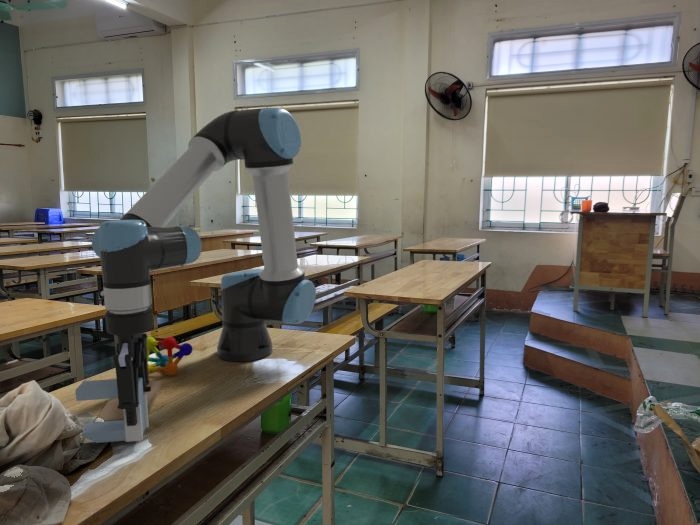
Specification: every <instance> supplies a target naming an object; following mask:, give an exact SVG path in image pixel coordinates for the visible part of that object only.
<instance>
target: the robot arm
mask: <svg viewBox="0 0 700 525" xmlns="http://www.w3.org/2000/svg"><path fill="white" fill-rule="evenodd" d="M301 136H302V135H301V132H300V128H299V125H298V123H297V121H296V119H295V117H293V116H292V114H291V113H290V112H289V111H288V110H286V109H284V108H282V107H269V106H268V107H267V106H265V107H264V108H263V107H261V108H252V109H241V110H231V111H228V112H224V113H222V114H220V115H218V116H216V117H215V118H214V119H212V120H211V121H210V122H208V123H207V124H206V125H204V127H203V126H202V128H201V129H200V130H199V131H198V132H197V133H195V134H194V135H193V137H192V138H191V139H189V141H188V143H187V149H186V150H185V151H184V153H183V154H182V155H180V156H179V158H177V160H176V161H175V162H174V163H173V164H172V165H171V166H170V167H169V168H168V169H167V170H166V171H165V172H164V173H163V175H162V176H160V178H159V179H158V180H156V182H155V183H154V184H152V186H151V187H149V189H148V190H147V191H146V192H145V193H144V194H143V195H142V196H141V197H140V199H138V200H137V201H136V203H134V205H132V207H131V208H130V209H129V210H128V211H127V212H125V214H124V215H123V216H122V217H121V218H120V219H114V220H112V219H111V220H106V221H103V222H102V223H101V224H100V225H99V227H98V228H97V229H96V230H94V233H93V235H92V237H91V247H92V251H93V252H94V254H95V255H96V256H97V257H98V258H99V259H100V265H101V266H100V268H101V277H102V287H103V290H101V292H100V296H101V297H104V308H105V310H107V311H106V313H104V316H105V317H104V318H105V328H106V332H107V333H108V334H110V335H113V336H117V337H118V342H117V344H116V354H115V355H114V356H113V358H112V360H113V362H114V366H115V374H116V378H115V379H117V389H118V401H119V405H118V409H123V410H124V423H125V436H126V440H125V443H130V442H139V441H141V442H142V441H143V439H144V433H143V430H142V416H141V404H139V394H138V378H141V377H142V379H143V396H144V411H145V427H146V429H149V427H150V424H149V421H150V420H149V414H148V407H147V393H144V392H150V391H151V387H147V385H148V384H149V381H150V380H149V374H148V364H149V361H147V337H148V334H147V333H146V332H149V331H150V330H151V329H152V328H153V327H154V321H153V309H152V308H151V307H150V306H151V305H152V303H153V301H152V288H151V287H152V285H151V272H153V271H156V270H164V269H169V268H175V267H183V266H185V265H188V264H192V263H194V262H196V261H197V260H198V259H199V257H200V256H201V254H202V245H203V244H202V241H201V240H202V239H201V237H200V235H199V233H198V232H197V231H196V229H193V228H192V227H189V226H178V225H176V226H173V227H172V226H171V227H170V226H169V227H166V226H167V225H168V224H169V222H170V221H171V220H172V219H173V218H174V217H175V216H176V214H178V212H179V211H180V210H181V209H182V208H183V207H184V205H185V204H186V203H187V202H188V201H189V200H190V199H191V198H192V196H193V195H194V194H195V193H196V192H197V190H199V189H200V187H201V186H202V185H203V184H204V183H205V181H206V180H207V179H208V178H209V177H210V176H211V175H212V173H213V172H218V171H220V170H222V169H223V168H224V166H225V165H227V164H228V163H230V162H232V161H237V160H241V161H242V160H243V161H244V167H245V170H246V171H248V172H249V173H250V174H251V175H252V180H253V188H254V196H255V205H256V213H257V219H258V220H257V221H258V229H259V235H260V236H259V237H260V245H261V252H262V259H263V267H264V268H263V269H259V268H257V269H247V270H240V271H239V270H238V271H234V272H230V273H225V274H224V275H223V276H222V277H221V281H220V299H221V301H220V302H221V303H220V304H221V317H222V329H221V332H220V336H219V339H218V343H217V346H216V353H217V354H216V355H217V357H218V358H220V359H221V360H224V361H229V362H250V361H251V362H252V361H256V360H260V359H264V358H266V357H269V356H270V355H271V354H272V353H273V341H272V338H271V336H270V333H269V331H268V328H267V324H266V321H267V322H268V321H269V322H274V323H275V322H276V323H283V324H285V325H289V324H290V325H293V324H294V325H298V324H302V323H304V322H305V321H306V320H307V319H308V318H309V317H310V315H311V313H312V311H313V309H314V305H315V302H316V295H317V294H316V293H317V292H316V291H317V290H316V287H315V284H314V283H313V282H312V281H311V280H309V279H306V276H305V270H304V268H303V267H302V266H300V265H299V264H298V263H299V262H298V256H297V247H296V246H297V245H296V244H297V243H296V236H295V228H294V216H293V209H292V199H291V198H292V197H291V190H290V189H291V188H290V187H291V186H290V180H289V171H290V169H291V168H292V167H293V166H294V158H295V157H297V155H298V154H299V153H300V150H301V149H300V147H301V145H302V138H301ZM143 333H145V334H143Z"/></svg>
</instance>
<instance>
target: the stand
mask: <svg viewBox="0 0 700 525" xmlns="http://www.w3.org/2000/svg"><path fill="white" fill-rule="evenodd" d="M145 333H146V332H144V333H142V334H145ZM147 387H151V391H150V392H144V393H147V407H148V415H149V414H150V411H151V410H152V407H153V405H154V404H155V401H156V400H157V397H158V395H159V393H160V391H161V389H162V387H163V380H152V381H151V380H149V384H148V385H147ZM118 405H119V401H118V398H112V399H108V401H107V403H106V404H105V405H104V407H103V408H102V410H101V411H100V412H99V414H98V415H97V417H99V418H101V419H103V420H104V421H118V420H124V410H123V409H118Z"/></svg>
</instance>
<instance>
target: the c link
mask: <svg viewBox="0 0 700 525" xmlns="http://www.w3.org/2000/svg"><path fill="white" fill-rule="evenodd" d="M138 394H139V404H141V416H142V430H143V434H144V433H145V431H146V429H147V428H146V427H145V411H144V396H143V379H142V377H141V378H138ZM112 398H118V389H117V378H110V379H109V378H108V379H94V380H83V381H82V382H81V383H80V385H79V386H78V387H76V389H75V401H76V402H78V401H79V402H80V401H95V400H96V401H97V400H110V399H112ZM83 428H84V429H83ZM83 428H82V429H83V432H82V435H83V437H84V438H87V439H89V440H92V441H94V442H96V443H97V444H98V443H99V444H100V443H110V442H120V441H121V442H122V441H125V442H126V436H125V423H124V420H118V421H104V422H94V421H93V422H86V424H84V426H83ZM96 443H95V444H96Z"/></svg>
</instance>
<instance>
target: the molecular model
mask: <svg viewBox="0 0 700 525" xmlns="http://www.w3.org/2000/svg"><path fill="white" fill-rule="evenodd" d="M156 346H162V347H163V349H164V350H167V354H162V352H161V351H160V350H159V349H158V348H157V347H156ZM173 349H177V350H178V351H177V352H175V353H173ZM193 349H194V348H193V346H192V345H191V344H190V343H188V342H187V343H183V344H178V343H177V341H176V338H174V337H173V336H168V337H165V338H164V339H163V340H156V339H155V337H154V336H147V361H148V375H149V374H150V373H151V372H161V373H162V372H164V374H165V375H167V376H170V377H171V376H174V375H176V374H177V373H178V370H179V366H178V365H179V363H180V362H181V360H182V359H183V358H184V357H187V356H190V355H191V354H192V353H193ZM151 350H152V352H153V353H154V354H155V355H156V356H157V357H151V356H150V353H151ZM174 359H175V360H174ZM149 363H151V364H149Z"/></svg>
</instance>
